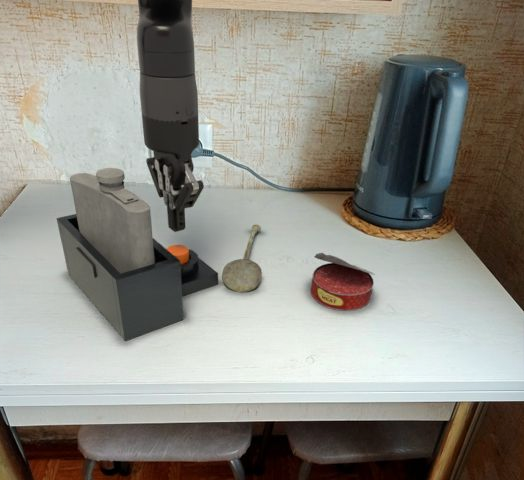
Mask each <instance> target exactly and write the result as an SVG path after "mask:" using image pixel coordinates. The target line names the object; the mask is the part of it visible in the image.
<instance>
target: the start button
mask: <svg viewBox="0 0 524 480" xmlns="http://www.w3.org/2000/svg"><path fill="white" fill-rule="evenodd" d="M166 249H167V250H168V251H169V252H170V253H171V254H173V255H174V256H175V257H176V258H177V259H178V260H180V264H182V263H186V262H188V261H189V247H188V246H186V245H183V244H172V245H169V246H167V247H166Z"/></svg>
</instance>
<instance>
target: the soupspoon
mask: <svg viewBox="0 0 524 480" xmlns="http://www.w3.org/2000/svg"><path fill="white" fill-rule="evenodd" d="M261 230H262V227H261V225H260V224H258V223H254V224H252V226H251V234H250V236H249V239H248V242H247V245H246V248H245V251H244V254H243V257H242V258H239V259H233V260H232V261H230V262H228V263H226V265H225V266H224V267H223V270H222V273H221V280H222V283H224V285H225V286H226V287H227V288H228V289H230V290H232V291H233V292H236V293H247V292H251V291H253V290H254V289H256V288H257V287H258V286H259V284H260V282H261V281H262V277H263V276H262V274H263V273H262V272H263V271H262V269H261V267H260V265H259V263H257V262H255V261H254V260H251V259H250V254H251V250H252V245H253V242H254V239H255V235H256V234H257V233H260V232H261Z"/></svg>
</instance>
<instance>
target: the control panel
mask: <svg viewBox="0 0 524 480" xmlns="http://www.w3.org/2000/svg"><path fill="white" fill-rule="evenodd" d="M188 249H189V248H188ZM180 266H181V285H182V297H186V296H188V295H191V294H193V293H197V292H201V291H202V290H206V289H209V288H211V287H215V286H218V285H219V272H217V270H215V269H214V268H213V267H211V266H210V265H209V264H208V263H206V261H204V260H203V259H201V258H200V257H199V254H198V253H197V252H195V250H193V249H189V261H188V262H186V263H182V264H180Z"/></svg>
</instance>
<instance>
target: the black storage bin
mask: <svg viewBox="0 0 524 480" xmlns="http://www.w3.org/2000/svg"><path fill="white" fill-rule="evenodd" d="M56 222H57V228H58V232H59V237H60V243H61V247H62V251H63V256H64V260H65V264H66V270H67V274H68V276H69V277H70V278H71V280H72V281H73V282H74V283H75V285H77V287H78V288H79V290H81V291H82V292H83V294H84V295H85V296H86V297H87V298H88V299H89V301H90V302H91V303H92V305H94V307H95V308H96V309H97V310H98V311H99V312H100V313H101V315H102V316H103V317H104V319H106V321H107V322H108V323H109V324H110V326H111V327H113V329H114V330H115V331H116V332H117V334H118V335H119V336H120V338H121V339H122V340H123V341H124V342H126V341H129V340H132V339H135V338H137V337H141V336H143V335H145V334H148V333H152V332H154V331H157V330H159V329H162V328H164V327H168V326H170V325H173V324H175V323H179V322H181V321H184V309H183V307H184V306H183V296H182V285H181V266H180V260H178V259H177V258H176V257H175V256H174V255H173V254H171V253H170V252H169V251H168V250H167V248H166V247H164V246H163V245H162V244H161V243H159V241H157V240H156V239H155V238H154V237H153V248H154V260H155V264H152V265H149V266H145V267H142V268H138V269H135V270H132V271H128V272H125V273H122V274H120V273H119V272H118V271H117V270H116V269H115V268H114V267H113V265H112V264H111V263H110V262H109V261H108V260H107V259H106V258H105V257H104V256H103V255H102V254H101V253H100V252H99V251H98V250H97V249H96V248H95V247H94V246H93V245H92V244H91V243H90V242H89V241H88V240H87V239H86V238H85V237H84V236H83V235H82V234H81V233H80V231H79V226H78V220H77V215H76V213H74V214H69V215H65V216H59V217H56Z"/></svg>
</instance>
